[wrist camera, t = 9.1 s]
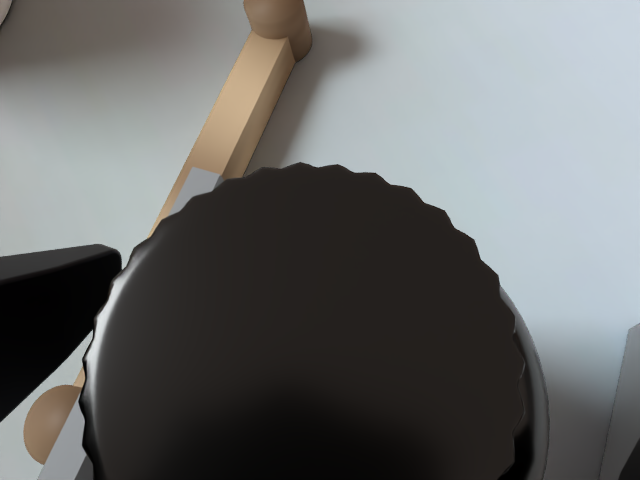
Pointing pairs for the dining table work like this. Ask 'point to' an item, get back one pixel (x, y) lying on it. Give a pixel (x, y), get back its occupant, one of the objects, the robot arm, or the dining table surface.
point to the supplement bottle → (311, 343)
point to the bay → (625, 429)
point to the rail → (210, 155)
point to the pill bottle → (4, 9)
